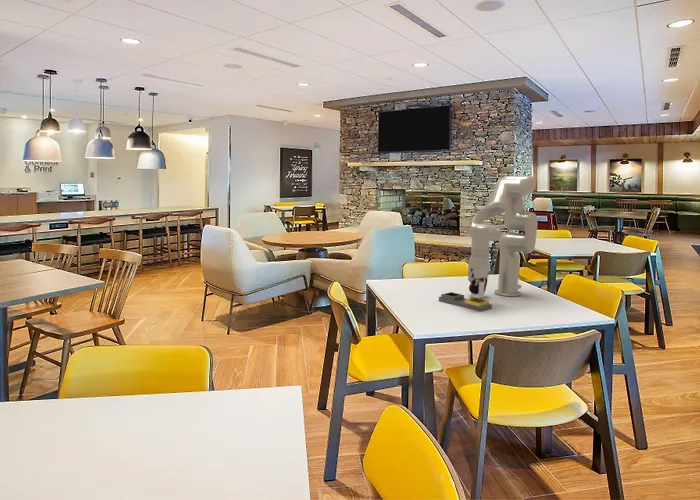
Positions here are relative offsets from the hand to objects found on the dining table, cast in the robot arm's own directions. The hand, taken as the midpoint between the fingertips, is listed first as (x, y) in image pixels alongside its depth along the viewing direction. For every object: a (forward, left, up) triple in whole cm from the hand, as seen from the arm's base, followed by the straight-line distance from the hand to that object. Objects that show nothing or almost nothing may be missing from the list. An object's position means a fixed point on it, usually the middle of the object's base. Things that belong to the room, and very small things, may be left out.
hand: (477, 292), depth 224 cm
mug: (-18, -13, -7) cm, 24 cm away
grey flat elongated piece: (0, -7, -7) cm, 10 cm away
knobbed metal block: (0, 0, -2) cm, 2 cm away
